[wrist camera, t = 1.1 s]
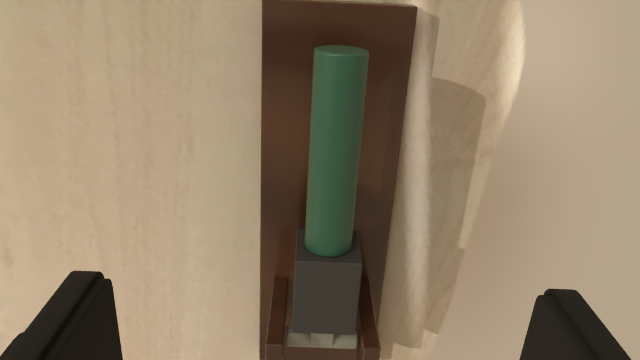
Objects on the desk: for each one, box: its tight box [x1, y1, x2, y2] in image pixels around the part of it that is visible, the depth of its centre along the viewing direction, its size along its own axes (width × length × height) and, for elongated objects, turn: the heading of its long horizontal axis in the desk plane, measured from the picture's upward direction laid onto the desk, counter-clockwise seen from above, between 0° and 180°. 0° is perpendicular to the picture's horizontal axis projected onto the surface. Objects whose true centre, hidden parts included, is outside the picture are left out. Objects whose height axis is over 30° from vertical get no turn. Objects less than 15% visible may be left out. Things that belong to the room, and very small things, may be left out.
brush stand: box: [260, 0, 417, 360], centre depth 25 cm, size 21×7×6 cm, turn 177°
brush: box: [286, 45, 369, 349], centre depth 23 cm, size 15×4×3 cm, turn 177°
